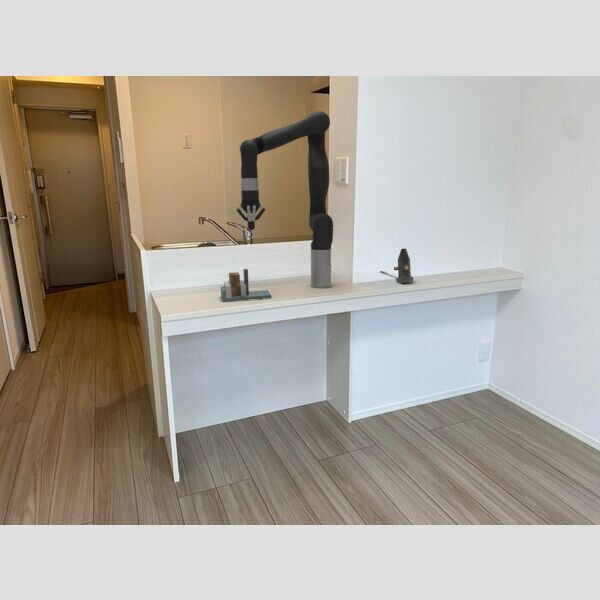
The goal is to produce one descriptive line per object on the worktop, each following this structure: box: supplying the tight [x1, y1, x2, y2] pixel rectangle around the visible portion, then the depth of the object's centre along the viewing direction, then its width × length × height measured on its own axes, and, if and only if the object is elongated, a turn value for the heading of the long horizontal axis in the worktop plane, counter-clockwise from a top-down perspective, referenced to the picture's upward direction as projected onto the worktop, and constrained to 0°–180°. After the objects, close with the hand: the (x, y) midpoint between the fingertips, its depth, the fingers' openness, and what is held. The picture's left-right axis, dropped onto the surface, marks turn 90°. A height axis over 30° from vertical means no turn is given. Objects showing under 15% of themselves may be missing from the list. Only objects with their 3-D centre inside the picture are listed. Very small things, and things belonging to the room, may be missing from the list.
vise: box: [220, 280, 272, 303], centre depth 195 cm, size 20×9×6 cm, turn 104°
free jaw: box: [240, 268, 250, 297], centre depth 194 cm, size 4×9×10 cm, turn 14°
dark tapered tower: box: [393, 248, 414, 284], centre depth 231 cm, size 6×16×30 cm
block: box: [228, 271, 241, 297], centre depth 193 cm, size 4×5×9 cm
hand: (251, 230), depth 204 cm, fingers closed
